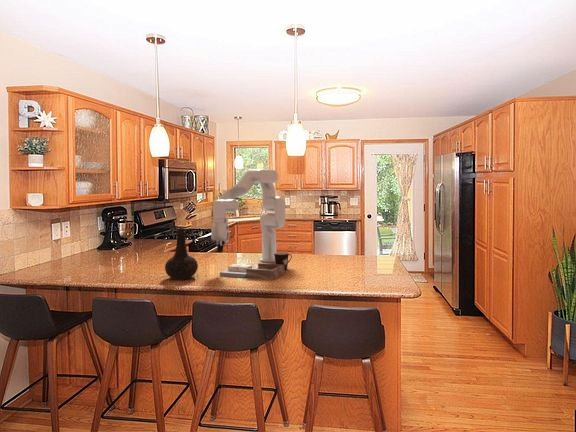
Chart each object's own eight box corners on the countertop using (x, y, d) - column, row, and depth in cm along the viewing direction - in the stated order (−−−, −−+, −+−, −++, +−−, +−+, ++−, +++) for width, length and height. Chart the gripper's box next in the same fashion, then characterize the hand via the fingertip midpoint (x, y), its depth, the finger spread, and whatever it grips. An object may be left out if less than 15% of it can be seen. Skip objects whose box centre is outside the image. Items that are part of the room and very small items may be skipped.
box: (259, 271, 268) (259, 262, 267) (284, 273, 262) (284, 264, 262) (246, 277, 252) (246, 268, 252) (272, 279, 246) (272, 270, 246)
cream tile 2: (242, 269, 265) (242, 264, 265) (252, 269, 263) (252, 265, 263) (238, 271, 260) (238, 266, 260) (247, 271, 258) (247, 267, 257)
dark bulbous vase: (162, 282, 244) (160, 230, 242) (168, 274, 262) (166, 226, 259) (196, 281, 246) (194, 230, 243) (200, 273, 263) (198, 226, 261)
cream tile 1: (233, 268, 268) (232, 264, 268) (242, 268, 266) (242, 264, 265) (228, 270, 262) (227, 266, 262) (237, 271, 260) (237, 266, 260)
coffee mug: (276, 271, 266) (276, 255, 265) (273, 268, 274) (272, 252, 273) (295, 270, 269) (295, 253, 268) (291, 267, 277) (291, 251, 276)
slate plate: (234, 269, 274) (234, 266, 274) (258, 271, 268) (258, 267, 268) (220, 275, 258) (219, 272, 257) (245, 277, 252) (245, 274, 252)
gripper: (234, 220, 265) (234, 251, 267) (212, 220, 270) (212, 250, 272) (228, 221, 258) (228, 253, 260) (205, 221, 264) (205, 252, 265)
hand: (220, 252), depth 266 cm, fingers closed
